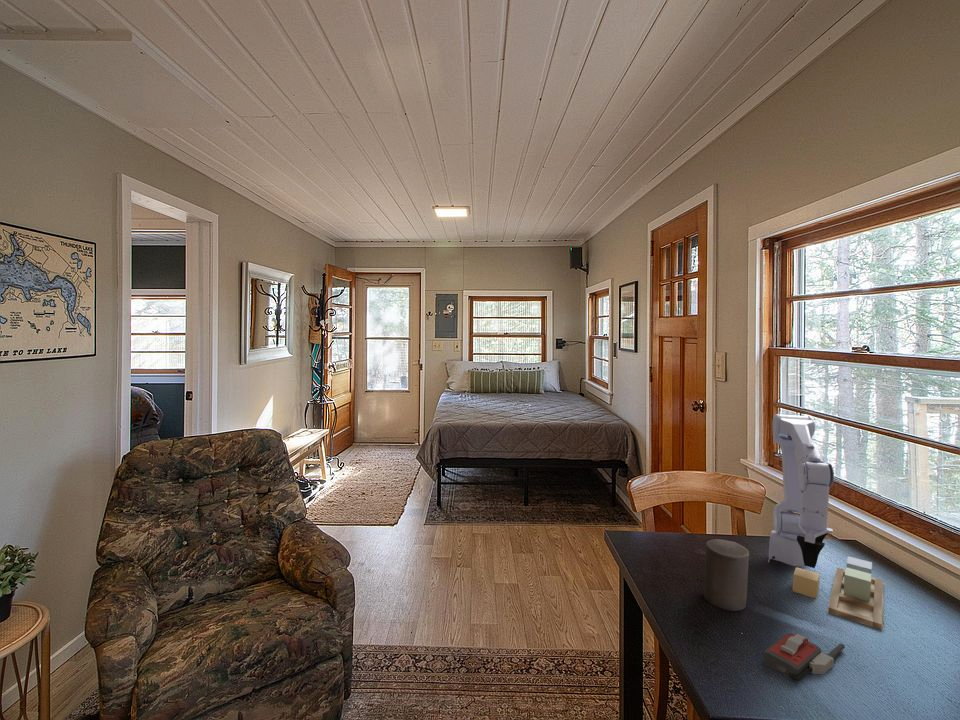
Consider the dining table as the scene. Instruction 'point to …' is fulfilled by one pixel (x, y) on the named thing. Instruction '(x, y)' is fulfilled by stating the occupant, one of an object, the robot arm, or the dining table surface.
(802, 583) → the ochre block
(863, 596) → the sage block
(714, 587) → the pillar candle
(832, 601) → the slot board
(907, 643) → the dining table surface
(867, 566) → the blue-grey block
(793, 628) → the dining table surface
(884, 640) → the dining table surface
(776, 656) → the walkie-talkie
